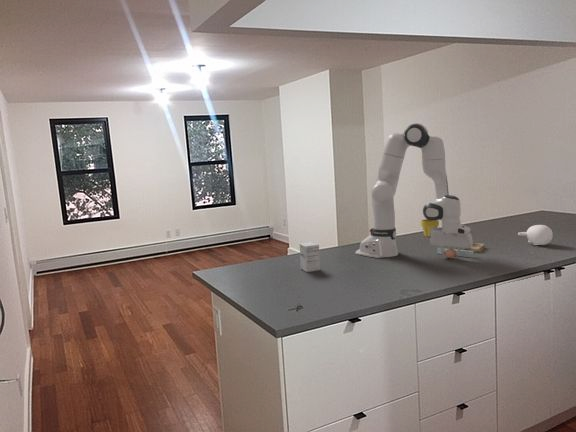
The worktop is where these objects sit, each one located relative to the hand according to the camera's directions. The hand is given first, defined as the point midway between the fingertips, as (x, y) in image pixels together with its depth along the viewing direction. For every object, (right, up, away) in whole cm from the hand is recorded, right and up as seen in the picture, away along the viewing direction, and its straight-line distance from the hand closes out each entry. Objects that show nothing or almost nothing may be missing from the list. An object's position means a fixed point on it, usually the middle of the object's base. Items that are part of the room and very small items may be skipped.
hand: (450, 255), depth 239 cm
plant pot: (+6, +7, +56) cm, 56 cm away
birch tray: (+17, +2, +18) cm, 24 cm away
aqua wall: (+4, -1, +6) cm, 7 cm away
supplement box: (-71, -6, -8) cm, 71 cm away
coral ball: (0, +1, 0) cm, 1 cm away
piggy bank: (+54, +4, +22) cm, 59 cm away
